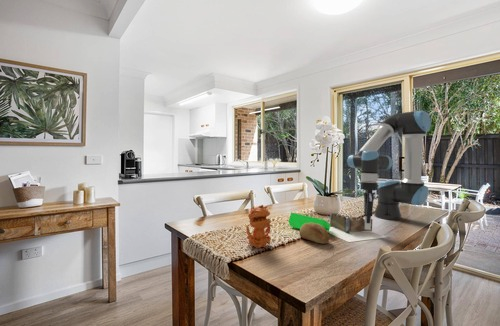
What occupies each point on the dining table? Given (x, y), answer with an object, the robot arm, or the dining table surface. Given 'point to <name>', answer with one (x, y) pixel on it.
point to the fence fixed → (338, 221)
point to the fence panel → (358, 225)
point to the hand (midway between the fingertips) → (367, 229)
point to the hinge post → (347, 225)
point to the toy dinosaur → (259, 227)
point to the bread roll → (314, 233)
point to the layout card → (354, 235)
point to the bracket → (306, 221)
